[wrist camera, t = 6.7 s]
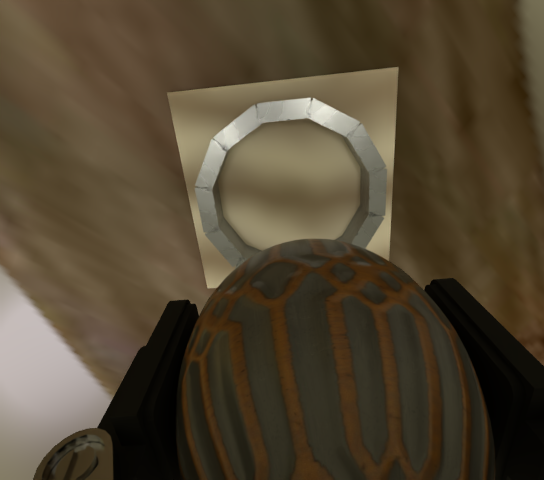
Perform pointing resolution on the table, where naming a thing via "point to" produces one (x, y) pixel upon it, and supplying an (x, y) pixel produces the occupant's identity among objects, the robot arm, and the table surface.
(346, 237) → the ring collar
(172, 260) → the table surface
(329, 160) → the birch board
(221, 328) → the vase
